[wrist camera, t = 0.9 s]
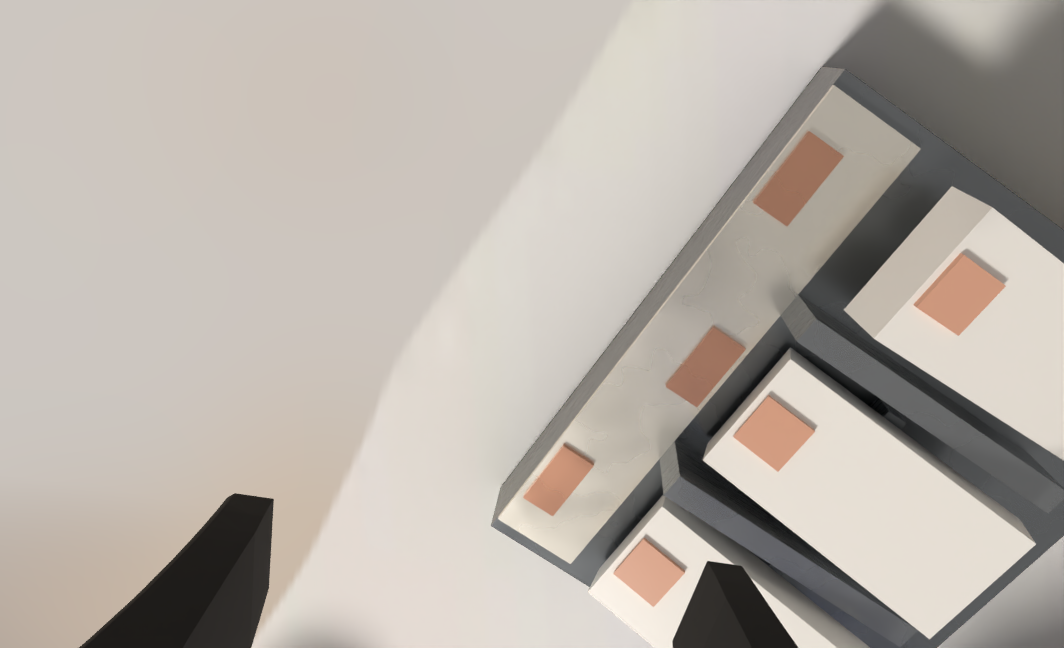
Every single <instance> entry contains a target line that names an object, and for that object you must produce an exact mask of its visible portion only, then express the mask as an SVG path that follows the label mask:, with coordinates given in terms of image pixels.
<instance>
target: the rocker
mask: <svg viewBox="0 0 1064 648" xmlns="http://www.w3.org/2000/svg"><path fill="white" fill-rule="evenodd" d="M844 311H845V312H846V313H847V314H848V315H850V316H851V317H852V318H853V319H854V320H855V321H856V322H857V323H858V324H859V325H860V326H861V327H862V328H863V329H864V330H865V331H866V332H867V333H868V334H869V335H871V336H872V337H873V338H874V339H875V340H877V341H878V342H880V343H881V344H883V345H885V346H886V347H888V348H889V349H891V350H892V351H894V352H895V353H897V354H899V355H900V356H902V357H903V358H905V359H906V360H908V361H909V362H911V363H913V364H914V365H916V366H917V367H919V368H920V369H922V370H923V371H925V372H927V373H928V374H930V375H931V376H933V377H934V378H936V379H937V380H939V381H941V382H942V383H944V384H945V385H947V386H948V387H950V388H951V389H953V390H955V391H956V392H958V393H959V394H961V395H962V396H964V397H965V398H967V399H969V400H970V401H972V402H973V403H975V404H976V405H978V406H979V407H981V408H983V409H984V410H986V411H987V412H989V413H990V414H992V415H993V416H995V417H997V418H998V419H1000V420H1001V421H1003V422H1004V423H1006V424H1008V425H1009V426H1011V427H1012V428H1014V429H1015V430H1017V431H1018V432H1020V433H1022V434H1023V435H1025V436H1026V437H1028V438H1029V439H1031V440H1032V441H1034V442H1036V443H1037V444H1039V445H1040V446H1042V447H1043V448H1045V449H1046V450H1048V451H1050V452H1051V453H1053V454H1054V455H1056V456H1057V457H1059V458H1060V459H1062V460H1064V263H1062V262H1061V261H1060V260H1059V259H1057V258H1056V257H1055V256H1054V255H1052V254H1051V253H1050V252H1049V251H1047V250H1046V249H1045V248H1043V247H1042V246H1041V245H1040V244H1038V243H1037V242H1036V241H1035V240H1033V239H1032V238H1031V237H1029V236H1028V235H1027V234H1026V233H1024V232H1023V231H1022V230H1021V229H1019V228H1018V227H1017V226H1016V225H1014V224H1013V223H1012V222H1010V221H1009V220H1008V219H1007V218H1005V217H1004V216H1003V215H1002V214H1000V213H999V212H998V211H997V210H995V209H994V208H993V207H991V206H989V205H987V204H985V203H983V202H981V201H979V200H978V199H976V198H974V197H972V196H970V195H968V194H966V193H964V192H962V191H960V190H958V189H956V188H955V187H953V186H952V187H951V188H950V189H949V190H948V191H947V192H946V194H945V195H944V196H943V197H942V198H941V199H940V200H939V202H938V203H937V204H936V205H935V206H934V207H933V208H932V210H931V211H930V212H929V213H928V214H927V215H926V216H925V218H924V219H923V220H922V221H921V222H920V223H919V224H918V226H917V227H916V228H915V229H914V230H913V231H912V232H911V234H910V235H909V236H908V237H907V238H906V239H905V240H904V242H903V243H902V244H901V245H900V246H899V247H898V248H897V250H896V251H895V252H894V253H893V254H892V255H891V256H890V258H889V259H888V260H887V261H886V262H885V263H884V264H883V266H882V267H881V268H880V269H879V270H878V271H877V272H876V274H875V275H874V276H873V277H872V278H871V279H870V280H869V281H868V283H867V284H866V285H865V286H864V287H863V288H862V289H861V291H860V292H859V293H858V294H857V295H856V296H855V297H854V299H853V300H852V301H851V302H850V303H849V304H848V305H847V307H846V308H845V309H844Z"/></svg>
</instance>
